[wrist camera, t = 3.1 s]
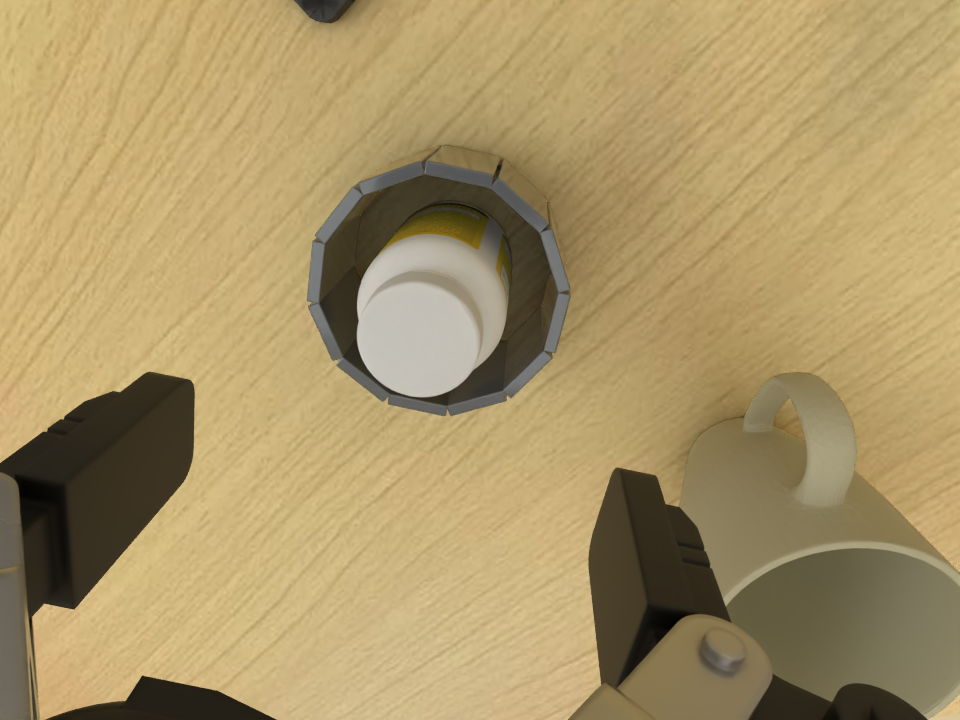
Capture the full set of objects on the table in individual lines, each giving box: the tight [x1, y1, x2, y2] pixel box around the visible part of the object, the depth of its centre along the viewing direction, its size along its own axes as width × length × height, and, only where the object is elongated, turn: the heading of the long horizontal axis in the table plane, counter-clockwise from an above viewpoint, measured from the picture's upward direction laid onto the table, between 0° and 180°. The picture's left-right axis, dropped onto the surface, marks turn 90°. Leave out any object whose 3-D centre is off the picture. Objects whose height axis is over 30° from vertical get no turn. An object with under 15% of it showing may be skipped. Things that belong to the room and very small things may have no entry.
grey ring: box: [307, 145, 571, 416], centre depth 28 cm, size 10×10×6 cm
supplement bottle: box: [357, 201, 512, 397], centre depth 26 cm, size 5×5×10 cm
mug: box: [679, 372, 960, 720], centre depth 27 cm, size 11×10×12 cm
